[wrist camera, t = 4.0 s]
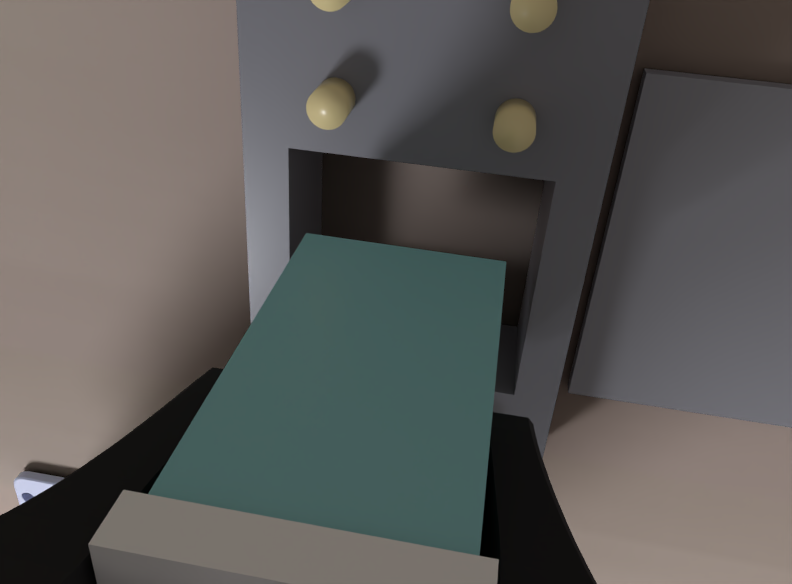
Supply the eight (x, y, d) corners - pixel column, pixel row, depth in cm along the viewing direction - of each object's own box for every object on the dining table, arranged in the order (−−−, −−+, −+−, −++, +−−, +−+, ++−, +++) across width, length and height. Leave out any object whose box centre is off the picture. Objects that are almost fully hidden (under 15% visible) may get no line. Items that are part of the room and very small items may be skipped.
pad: (861, 429, 20) (866, 439, 20) (567, 384, 21) (568, 393, 21) (1029, 110, 16) (1040, 116, 15) (644, 68, 17) (646, 73, 16)
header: (528, 449, 23) (526, 549, 20) (288, 409, 24) (248, 499, 20) (641, -69, 15) (668, -44, 12) (281, -101, 16) (215, -86, 13)
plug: (487, 425, 17) (448, 825, 10) (296, 393, 17) (135, 754, 10) (518, 253, 14) (494, 623, 8) (296, 222, 15) (88, 543, 8)
